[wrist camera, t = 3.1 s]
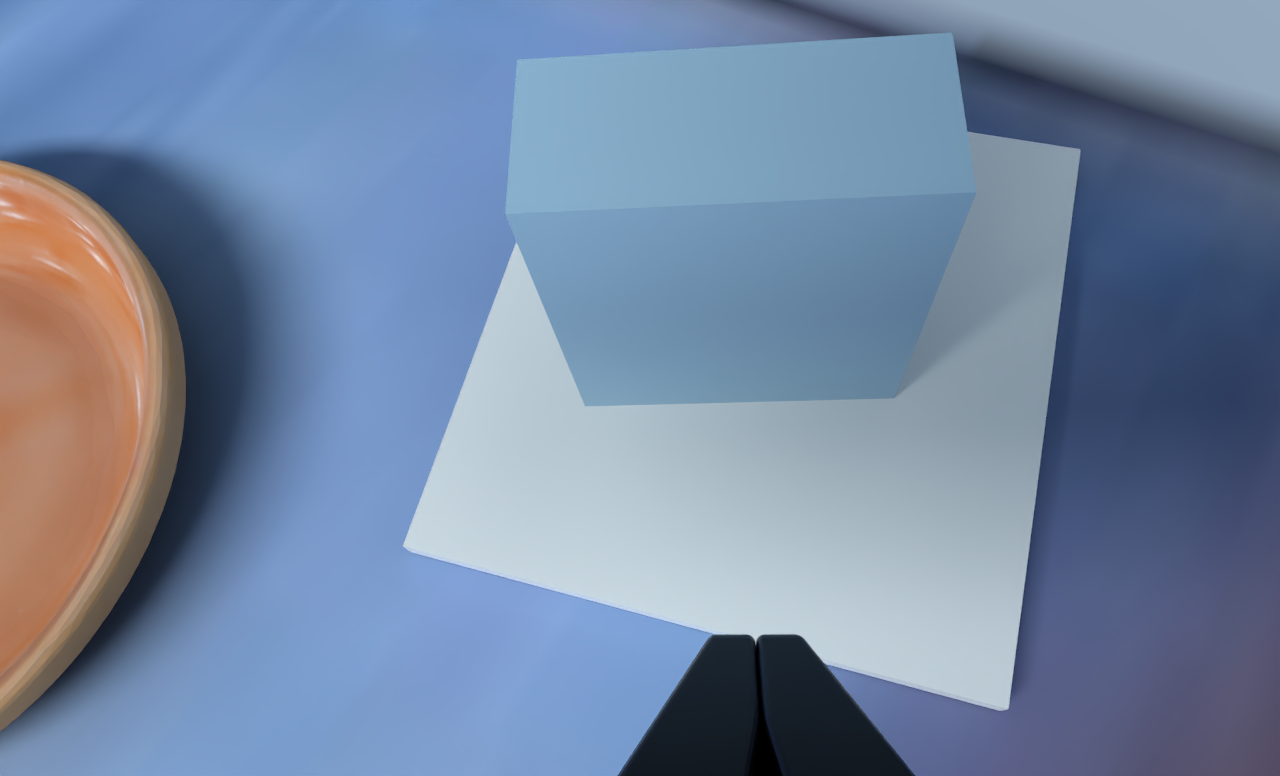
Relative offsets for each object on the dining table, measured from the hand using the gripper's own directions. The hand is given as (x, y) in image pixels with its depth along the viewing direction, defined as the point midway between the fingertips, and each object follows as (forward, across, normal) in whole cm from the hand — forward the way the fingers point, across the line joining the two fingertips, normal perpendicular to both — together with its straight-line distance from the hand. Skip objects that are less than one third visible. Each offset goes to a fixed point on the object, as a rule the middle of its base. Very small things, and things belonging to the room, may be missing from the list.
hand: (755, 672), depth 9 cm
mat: (+14, 0, +2) cm, 14 cm away
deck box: (+14, 0, +2) cm, 14 cm away
